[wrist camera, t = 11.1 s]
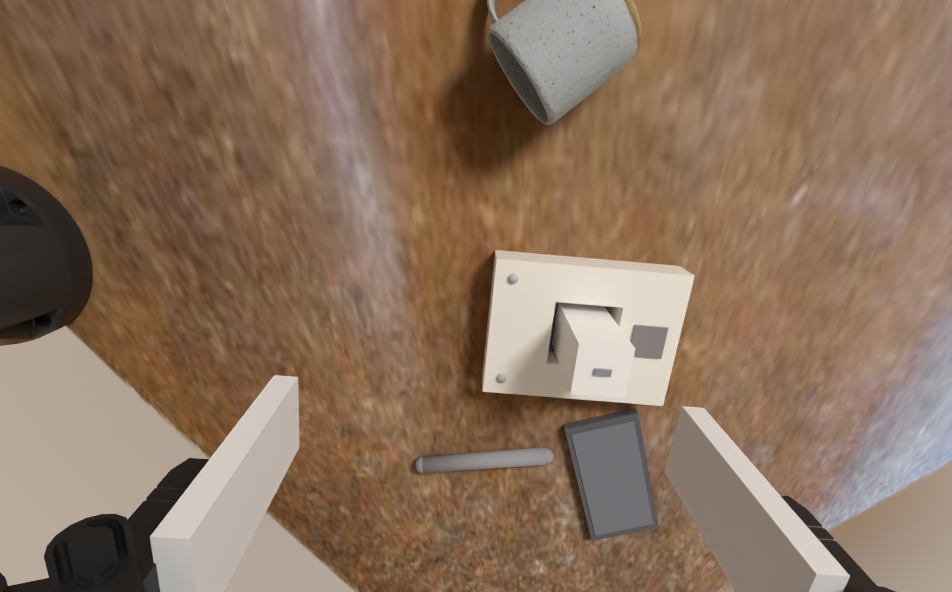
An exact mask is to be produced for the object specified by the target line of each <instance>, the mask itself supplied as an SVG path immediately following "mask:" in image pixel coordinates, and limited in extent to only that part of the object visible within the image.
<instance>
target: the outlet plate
mask: <svg viewBox="0 0 952 592" xmlns="http://www.w3.org/2000/svg"><path fill="white" fill-rule="evenodd" d="M693 280H694V275H693V274H691V273H689V272H688V271H686V270H685V269H683V268H682V267H680V266H672V265H661V264H649V263H638V262H626V261H615V260H603V259H592V258H580V257H569V256H557V255H546V254H534V253H523V252H511V251H500V250H495V257H494V266H493V276H492V286H491V295H490V305H489V315H488V324H487V334H486V344H485V353H484V363H483V373H482V387H483V392H494V393H506V394H519V395H532V396H544V397H557V398H570V399H582V400H595V401H607V402H620V403H633V404H645V405H658V406H663V404H664V399H665V395H666V391H667V387H668V383H669V379H670V375H671V371H672V367H673V362H674V358H675V354H676V350H677V346H678V342H679V338H680V334H681V330H682V325H683V321H684V317H685V313H686V309H687V305H688V301H689V297H690V293H691V288H692V284H693ZM558 302H562V303H574V304H586V305H598V306H604V307H605V308H606V310H607V311H608V312H609V314H610V315H611V316H612V318H613V319H614V320H615V322H616V323H617V324H618V326H619V327H620V329H621V330H622V331H623V333H624V334H625V335H626V337H627V338H628V339H629V341H630V342H631V343H632V345H633V346H634V347H635V353H634V358H633V362H632V367H631V372H630V377H629V381H628V386H627V391H626V395H625V398H613V397H600V396H588V395H575V394H570V392H569V389H568V386H567V383H566V381H565V378H564V375H563V372H562V370H561V367H560V364H559V361H558V358H557V356H556V353H555V350H554V347H553V345H552V340H553V333H554V326H555V320H556V313H557V307H558Z"/></svg>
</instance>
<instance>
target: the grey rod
mask: <svg viewBox="0 0 952 592" xmlns="http://www.w3.org/2000/svg"><path fill="white" fill-rule="evenodd" d="M552 460H553V453H552V451H551V450H550V449H549V448H530V449H516V450H502V451H489V452H475V453H461V454H447V455H433V456H422V457H419V458H418V459H417V460H416V463H415V467H416V470H417V471H418V472H420V473H436V472H450V471H464V470H478V469H492V468H506V467H520V466H534V465H547V464H549V463H551V462H552Z"/></svg>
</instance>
